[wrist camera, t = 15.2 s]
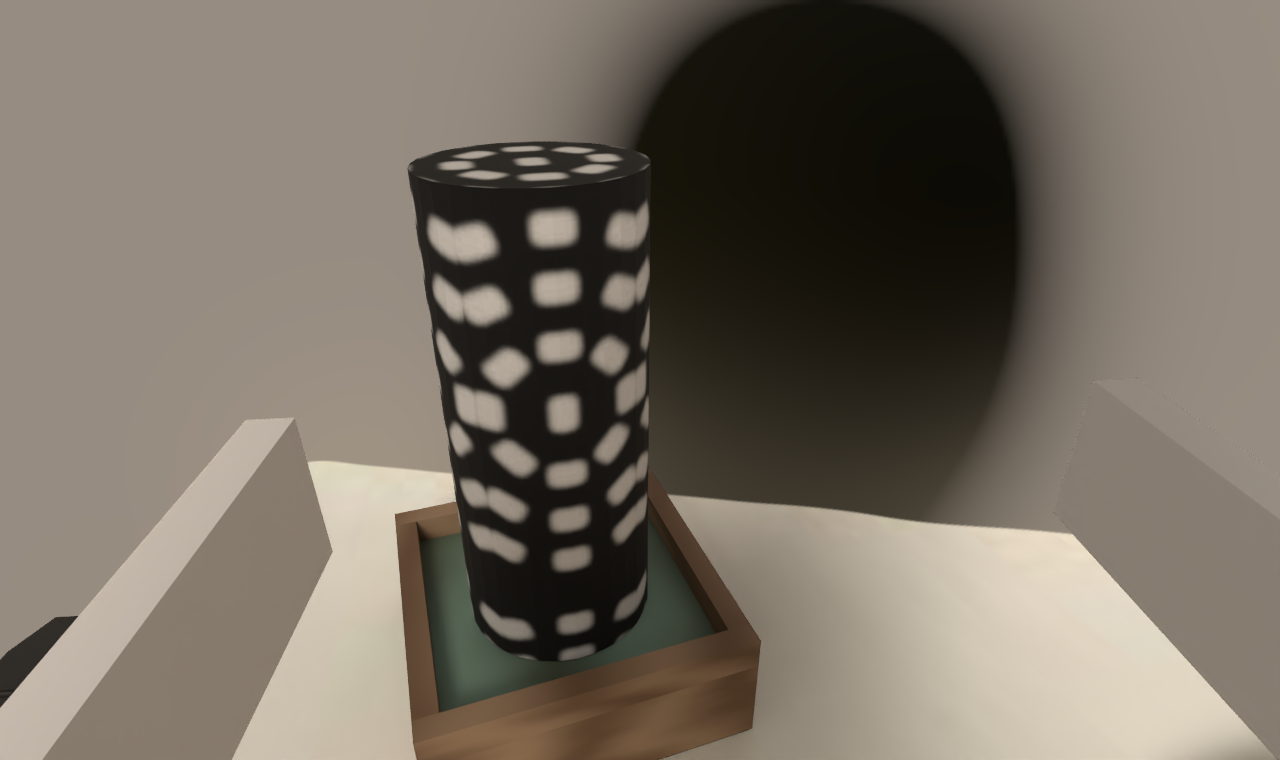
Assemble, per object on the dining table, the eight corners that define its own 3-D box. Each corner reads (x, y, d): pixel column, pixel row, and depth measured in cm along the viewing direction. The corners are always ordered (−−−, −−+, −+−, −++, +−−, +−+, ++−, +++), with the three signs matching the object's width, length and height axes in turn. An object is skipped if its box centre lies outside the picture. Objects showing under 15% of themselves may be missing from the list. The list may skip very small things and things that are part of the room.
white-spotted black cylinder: (466, 551, 37) (408, 146, 28) (623, 523, 39) (618, 137, 30) (479, 681, 30) (406, 196, 20) (670, 638, 32) (682, 179, 22)
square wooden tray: (646, 537, 44) (646, 463, 42) (751, 728, 32) (760, 640, 30) (410, 593, 40) (395, 514, 38) (434, 834, 28) (413, 744, 26)
